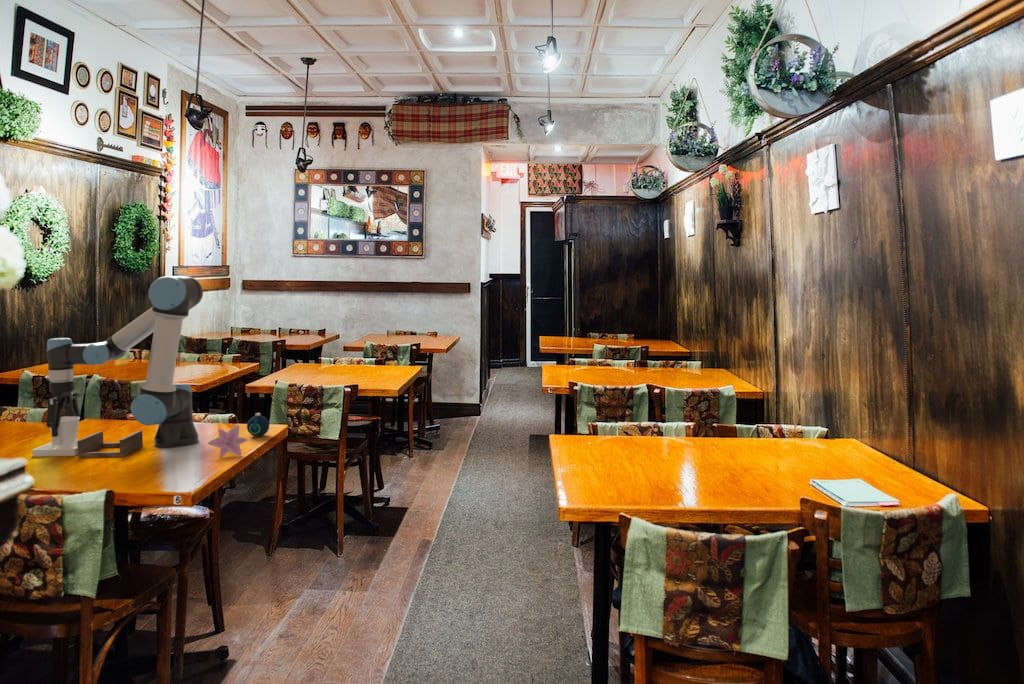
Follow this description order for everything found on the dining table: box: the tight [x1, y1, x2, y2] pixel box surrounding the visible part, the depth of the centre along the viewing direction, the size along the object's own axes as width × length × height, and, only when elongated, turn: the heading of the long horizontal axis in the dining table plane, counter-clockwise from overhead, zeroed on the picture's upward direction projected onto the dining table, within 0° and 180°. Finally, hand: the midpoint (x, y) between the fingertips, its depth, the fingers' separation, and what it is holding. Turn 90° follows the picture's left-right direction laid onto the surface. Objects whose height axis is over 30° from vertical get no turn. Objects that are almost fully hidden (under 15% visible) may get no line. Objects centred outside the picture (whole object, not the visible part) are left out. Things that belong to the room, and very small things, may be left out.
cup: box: [49, 415, 81, 449], centre depth 237 cm, size 10×10×11 cm
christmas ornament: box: [246, 412, 270, 437], centre depth 262 cm, size 8×8×10 cm
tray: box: [31, 439, 79, 457], centre depth 238 cm, size 14×14×2 cm
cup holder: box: [77, 430, 144, 458], centre depth 237 cm, size 15×15×6 cm
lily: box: [207, 424, 248, 458], centre depth 235 cm, size 12×12×10 cm
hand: (65, 441), depth 238 cm, fingers closed on cup, 9 cm apart
